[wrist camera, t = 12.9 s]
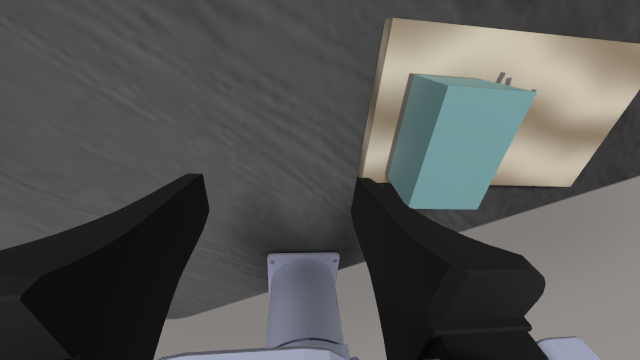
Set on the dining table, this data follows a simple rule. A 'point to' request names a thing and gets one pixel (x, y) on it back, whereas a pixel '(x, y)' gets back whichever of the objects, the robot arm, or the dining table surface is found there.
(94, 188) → the dining table surface
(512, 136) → the block
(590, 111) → the birch board
